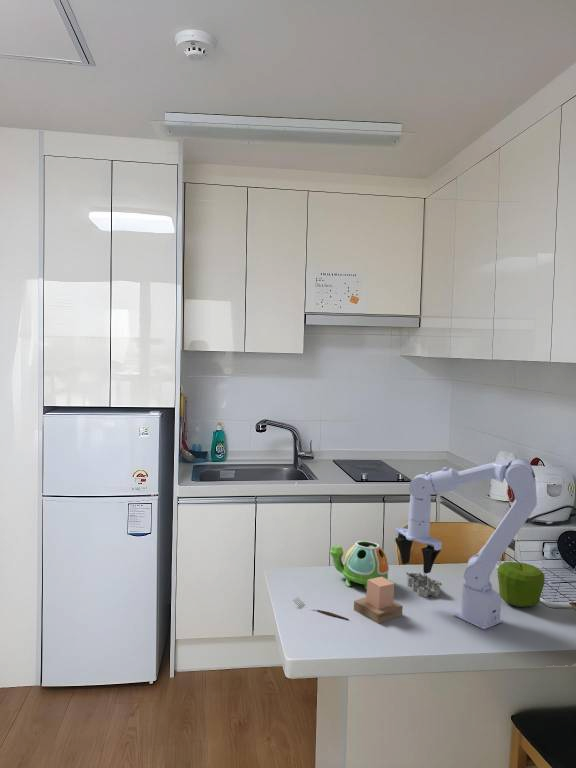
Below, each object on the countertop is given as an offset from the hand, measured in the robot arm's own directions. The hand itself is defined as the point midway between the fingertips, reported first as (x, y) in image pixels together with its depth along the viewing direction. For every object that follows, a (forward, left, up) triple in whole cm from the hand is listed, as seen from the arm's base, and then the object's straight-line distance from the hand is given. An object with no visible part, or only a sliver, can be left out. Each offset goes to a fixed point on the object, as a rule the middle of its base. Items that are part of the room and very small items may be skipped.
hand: (416, 567), depth 160 cm
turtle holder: (+19, +2, -11) cm, 22 cm away
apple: (-15, -27, -11) cm, 33 cm away
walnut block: (+2, +12, -11) cm, 16 cm away
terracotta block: (+2, +12, -8) cm, 14 cm away
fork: (+10, +25, -11) cm, 29 cm away
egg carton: (+6, -10, -11) cm, 16 cm away
